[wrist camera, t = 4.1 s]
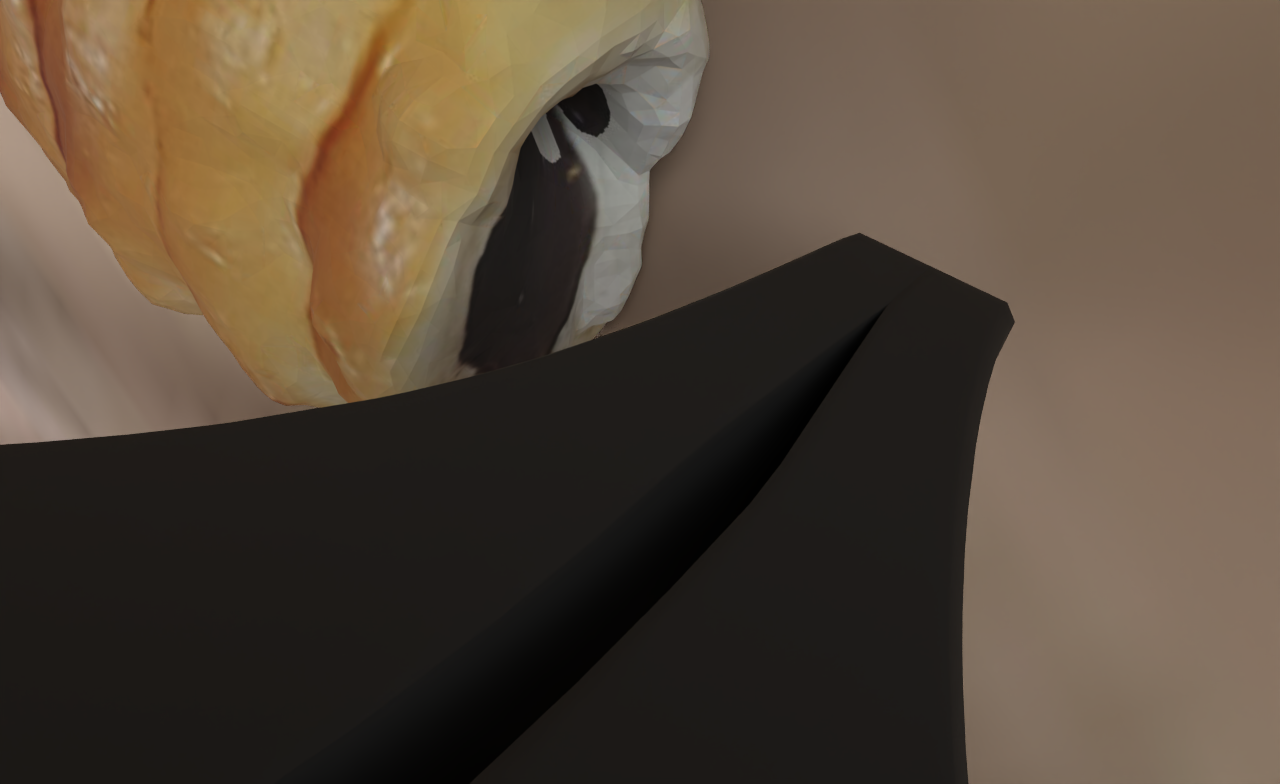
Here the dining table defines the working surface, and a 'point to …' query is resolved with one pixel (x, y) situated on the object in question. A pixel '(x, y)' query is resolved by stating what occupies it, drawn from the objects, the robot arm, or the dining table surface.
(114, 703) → the robot arm
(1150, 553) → the dining table surface
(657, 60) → the pastry
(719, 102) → the dining table surface
